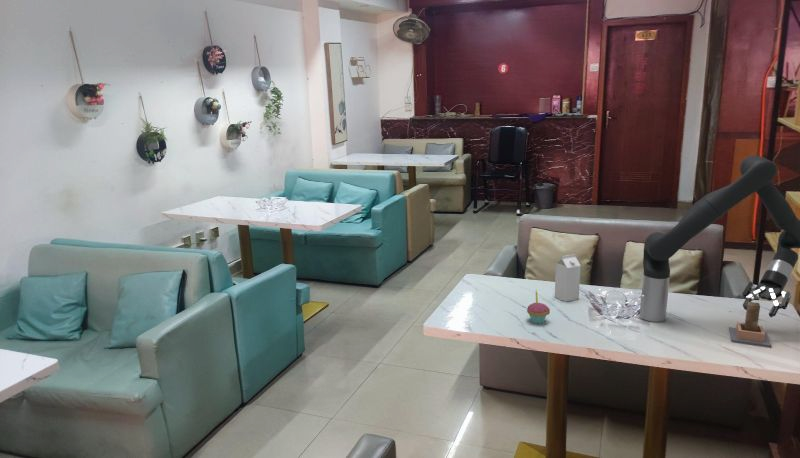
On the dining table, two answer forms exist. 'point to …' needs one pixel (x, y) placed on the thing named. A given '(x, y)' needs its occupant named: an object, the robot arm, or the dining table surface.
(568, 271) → the milk carton
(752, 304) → the wooden square peg
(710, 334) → the dining table surface
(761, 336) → the square peg socket
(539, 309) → the cupcake
